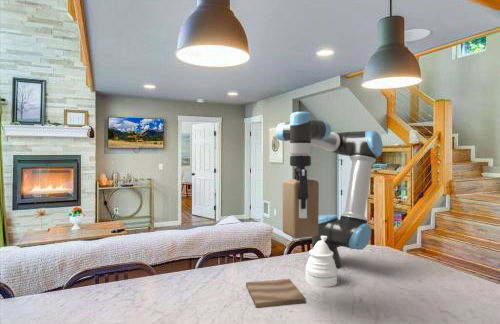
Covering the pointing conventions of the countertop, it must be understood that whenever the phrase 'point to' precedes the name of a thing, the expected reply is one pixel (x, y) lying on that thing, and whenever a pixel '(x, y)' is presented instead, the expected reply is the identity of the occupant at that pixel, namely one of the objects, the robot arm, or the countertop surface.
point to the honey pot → (321, 265)
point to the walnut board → (274, 293)
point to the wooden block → (291, 209)
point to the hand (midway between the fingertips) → (300, 214)
